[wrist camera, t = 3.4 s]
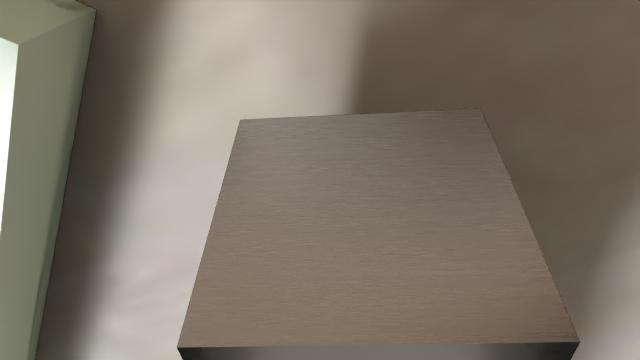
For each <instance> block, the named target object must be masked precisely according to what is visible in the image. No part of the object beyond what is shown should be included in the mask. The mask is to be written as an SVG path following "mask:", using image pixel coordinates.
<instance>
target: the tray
mask: <svg viewBox="0 0 640 360" xmlns="http://www.w3.org/2000/svg"><path fill="white" fill-rule="evenodd" d="M95 15H96V9H94V8H92V7H89V6H87V5H84V4H82V3H80V2H77V1H75V0H0V360H35V357H36V352H37V346H38V340H39V335H40V329H41V323H42V317H43V312H44V306H45V300H46V295H47V289H48V283H49V278H50V272H51V266H52V260H53V255H54V249H55V243H56V238H57V232H58V226H59V221H60V215H61V209H62V203H63V198H64V192H65V186H66V181H67V175H68V169H69V164H70V158H71V152H72V147H73V141H74V135H75V129H76V124H77V118H78V112H79V107H80V101H81V95H82V90H83V84H84V78H85V72H86V67H87V61H88V55H89V50H90V44H91V38H92V33H93V27H94V21H95Z"/></svg>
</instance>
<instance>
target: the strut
mask: <svg viewBox="0 0 640 360" xmlns="http://www.w3.org/2000/svg"><path fill="white" fill-rule="evenodd" d="M579 343H580V341H579V338H578V336H577V334H576V331H575V329H574V327H573V324H572V322H571V320H570V317H569V315H568V313H567V310H566V308H565V306H564V303H563V301H562V299H561V296H560V294H559V291H558V289H557V287H556V284H555V282H554V280H553V277H552V275H551V273H550V270H549V268H548V266H547V263H546V261H545V259H544V256H543V254H542V252H541V249H540V247H539V245H538V242H537V240H536V237H535V235H534V233H533V230H532V228H531V226H530V223H529V221H528V219H527V216H526V214H525V212H524V209H523V207H522V205H521V202H520V200H519V198H518V195H517V193H516V191H515V188H514V186H513V184H512V181H511V179H510V176H509V174H508V172H507V169H506V167H505V165H504V162H503V160H502V158H501V155H500V153H499V151H498V148H497V146H496V144H495V141H494V139H493V137H492V134H491V132H490V130H489V127H488V125H487V122H486V120H485V118H484V115H483V113H482V111H481V109H460V110H439V111H417V112H396V113H374V114H352V115H331V116H309V117H288V118H266V119H244V120H240V122H239V126H238V129H237V133H236V137H235V140H234V144H233V147H232V151H231V155H230V158H229V162H228V165H227V169H226V173H225V176H224V180H223V183H222V187H221V191H220V194H219V198H218V201H217V205H216V208H215V212H214V216H213V219H212V223H211V226H210V230H209V234H208V237H207V241H206V244H205V248H204V252H203V255H202V259H201V262H200V266H199V270H198V273H197V277H196V280H195V284H194V288H193V291H192V295H191V298H190V302H189V306H188V309H187V313H186V316H185V320H184V324H183V327H182V331H181V334H180V338H179V342H178V345H177V349H178V351H179V353H180V355H181V357H182V359H183V360H571V358H572V356H573V354H574V352H575V351H576V349H577V347H578V345H579Z"/></svg>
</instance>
